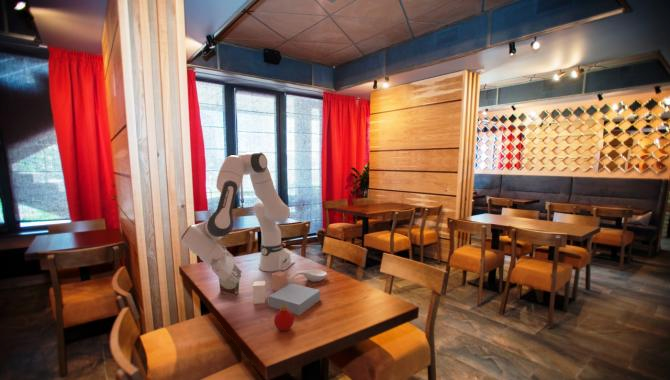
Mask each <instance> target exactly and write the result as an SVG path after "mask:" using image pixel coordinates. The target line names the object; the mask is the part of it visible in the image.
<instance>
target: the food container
mask: <svg viewBox="0 0 670 380" xmlns="http://www.w3.org/2000/svg"><path fill="white" fill-rule="evenodd" d="M232 274H233V275H234V276H235V277H238V278H239V281H238V282H237V283H235V282H234V281H232V280H229V279H228V278H227V279H226V280H225V281H223V280H222V279H220V278H219V277H218V284H219V292H220V293H223V294H227V295H231V296H237V295H238V294H239V292H240V291H239V290H240V280H241V279H240V278H241V277H242V273H241V274H240V275H238V274H237V273H236V272H235V271H234V270H232Z"/></svg>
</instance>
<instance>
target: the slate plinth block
mask: <svg viewBox="0 0 670 380" xmlns="http://www.w3.org/2000/svg"><path fill="white" fill-rule="evenodd" d="M267 297H268V307H269V308H273V309H275V308H276V309H277V310H279V309H280V310H281V306H283V303H284V305H285V306H287V310H288V311H290V312H291V313H294V314H293V315H295V314H297V315H296V316H299V315H300V314H301V315H302V314H304V313H305V312H306V311H308V310H309V309H310V308H311V306H312V307H313V306H314V305H315V303H316V304H317V303H318V302H320V301H321V289H317V288H313V287H312V288H311V287H308V286H304V285H300V284H296V283H293V282H292V283H291V284H289V285H287V286H285V287H284V288H282V289H280V290H278V291H274V292H273V293H271V294H270V295H268V296H267ZM319 300H320V301H319ZM307 309H308V310H307ZM280 310H279V311H280ZM303 312H304V313H303ZM301 315H300V316H301Z"/></svg>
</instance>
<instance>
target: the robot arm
mask: <svg viewBox="0 0 670 380" xmlns="http://www.w3.org/2000/svg"><path fill="white" fill-rule="evenodd" d="M246 175H247V176H248V175H249V177H250V182H251V184H252V188H253V191H254V195H255V196H256V198H257V199H259V200H260V201H258V202H256V203H255V204H254V205H253V208H252V212H253V215H254V216H255V218H256V219H257V221H258V225H259V228H260V232H261V234H260V235H261V244H260V257H259V263H258V269H259V270H260V271H263V272H278V271H281V272H282V271H285V270H287V269H288V268H289V267H291V266H292V265H294V264H295V261H294V260H293V259H291V254H290V252H288V251H287V250H285V249H284V247H286V245H287V244H286V243H285V242H282V231H281V229H280V227H279V226H278V225H277V223H280V222H285V221H287V220H288V219H289V217H290V214H291V212H290V207H289V205H287V204H285V203H284V202H283V200H282V199H281V197H280V196H279V194H278V192H277V190H276V188H275V184H274V182H273V178H272V175H271V172H270V169H269V168H268V159H267V157H266V155H265V154H264V153H262V152H260V151H259V152H258V151H254V152H244V153H240V154H235V155H229V156H227V157H225V159H224V161H223V162H222V165H221V167H220V169H219V171H218V175H217V179H216V184H215V185H216V186H215V187H216V189H217V191H219V193H220V196H219V198H218V203H217V207H216V210H215V211H214V212H213V213H212V214H211V215H210V217H209V218H208V220H205V221H202V222H200V223H197V224H196V223H195V224H191V225H189V226H188V228H187V229H186V230H185V231H184V233H183V234H182V236H181V242H182V243H183V245H184V246H185V247H186V248H187V249H188V250H189V251H190V252H192V253H193V254H195V255H197V256H198V257H199V259H200V260H201V261H202V262H204V264H206V266H208V267H209V268H211V271H212V272H213V273H214V274H215V275H216V276H217V277H218V279H219V278H220V279H222V280H223V281H225V280H226V279H227V278H228V279H229V280H232V281H234V282H235V283H237V282H238V281H239V282H240V279H239V278H238V277H235V276H234V275H233V274H232V270H234V271H235V272H236V273H237V274H238V275H240V274H241V275H242V270H241V269H240V268H239V266H238V265H237V264H236V263H237V259H236V258H235V256H234V255H233V254H232V253H230V251H228V250H227V247H226V246H225V245H220V244H219V243H217V241H218V240H221V239H222V238H223V237H225V236H227V235H229V234H230V233H231V232H232V230H233V229H234V222H235V221H234V217H233V211H234V206H235V202H236V197H237V194H238V192H239V190H240V189H241V185H242V182H243V179H244V176H246Z"/></svg>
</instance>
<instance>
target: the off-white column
mask: <svg viewBox="0 0 670 380" xmlns="http://www.w3.org/2000/svg"><path fill="white" fill-rule="evenodd" d="M252 299H253V300H252V301H253V302H252V304H253V305H256V304H257V305H258V304H265V303H266V280H258V281H253V284H252Z"/></svg>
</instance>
